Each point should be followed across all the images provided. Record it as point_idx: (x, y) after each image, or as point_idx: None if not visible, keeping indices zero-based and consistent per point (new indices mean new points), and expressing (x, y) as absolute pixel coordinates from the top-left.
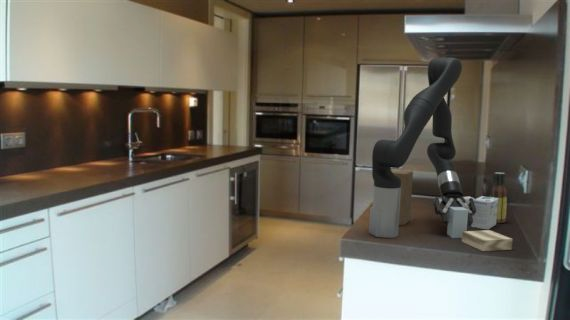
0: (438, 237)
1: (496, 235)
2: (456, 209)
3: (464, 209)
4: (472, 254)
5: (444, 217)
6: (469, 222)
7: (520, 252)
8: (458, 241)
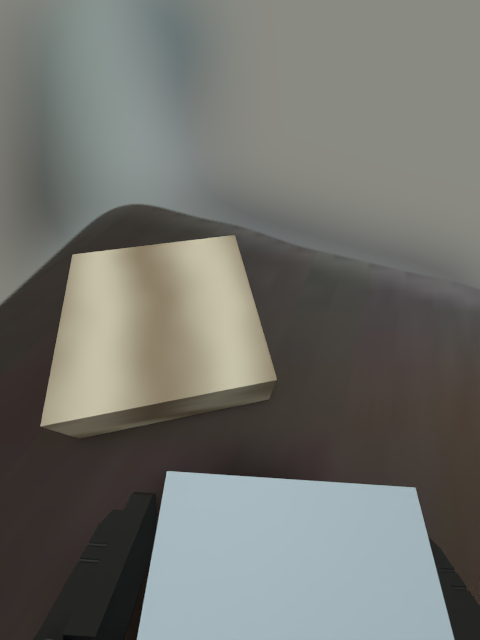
0: None
1: (108, 302)
2: (366, 518)
3: (209, 530)
4: (289, 244)
5: (455, 589)
6: (150, 520)
7: None
8: (285, 402)
